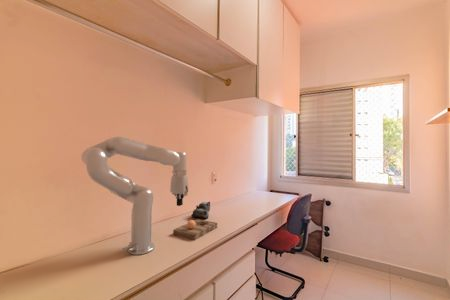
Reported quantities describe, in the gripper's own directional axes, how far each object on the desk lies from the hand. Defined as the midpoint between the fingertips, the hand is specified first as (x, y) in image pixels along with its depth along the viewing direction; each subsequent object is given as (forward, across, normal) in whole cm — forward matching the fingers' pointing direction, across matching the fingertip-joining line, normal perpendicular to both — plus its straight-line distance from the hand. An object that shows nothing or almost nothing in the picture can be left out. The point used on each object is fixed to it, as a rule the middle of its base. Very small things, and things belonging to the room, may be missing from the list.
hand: (179, 205), depth 128 cm
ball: (+13, +1, +9) cm, 16 cm away
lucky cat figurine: (+19, -13, +39) cm, 45 cm away
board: (+19, +1, +14) cm, 23 cm away
